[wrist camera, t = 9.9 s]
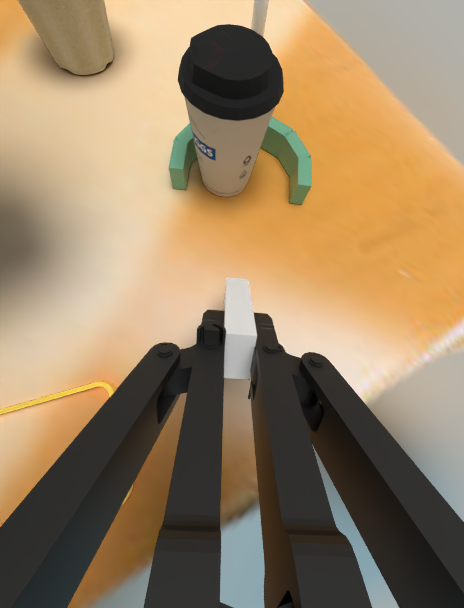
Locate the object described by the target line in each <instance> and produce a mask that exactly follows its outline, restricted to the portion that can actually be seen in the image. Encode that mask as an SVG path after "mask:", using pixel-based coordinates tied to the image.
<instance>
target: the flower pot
mask: <svg viewBox="0 0 464 608" xmlns="http://www.w3.org/2000/svg"><path fill="white" fill-rule="evenodd" d="M18 2H19V3H20V5H21V6H22V8H23V10H24V11H25V13H26V14H27V16H28V18H29V19H30V21H31V22H32V24H33V26H34V27H35V29H36V30H37V32H38V34H39V35H40V37H41V39H42V40H43V42H44V43H45V45H46V47H47V48H48V50H49V52H50V53H51V55H52V56H53V58H54V60H55V62H56V63H57V64H58V65H59V66H60V67H61V68H65V69H67V70H69V71H70V72H72V73H73V74H78V75H89V74H94V73H98V72H101V71H103V70H104V69H105V67H106V65H107V64H108V63H109V62H112V61H113V58H114V50H113V46H112V40H111V35H110V30H109V24H108V19H107V14H106V8H105V3H104V0H18Z"/></svg>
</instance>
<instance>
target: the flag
mask: <svg viewBox="0 0 464 608" xmlns="http://www.w3.org/2000/svg"><path fill="white" fill-rule="evenodd" d="M268 1H269V0H254V8H253V17H252V25H251V30H253V31H255V32H256V33H258V34H260V35H261V36H262V37H263V34H264V28H265V21H266V15H267V8H268Z"/></svg>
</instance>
